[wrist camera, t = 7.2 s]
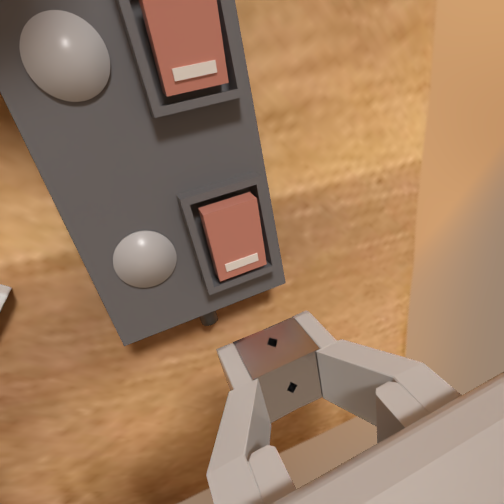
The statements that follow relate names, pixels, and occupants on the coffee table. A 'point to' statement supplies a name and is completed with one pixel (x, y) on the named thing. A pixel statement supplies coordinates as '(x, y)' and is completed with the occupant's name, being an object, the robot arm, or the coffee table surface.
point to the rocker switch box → (135, 156)
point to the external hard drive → (3, 294)
